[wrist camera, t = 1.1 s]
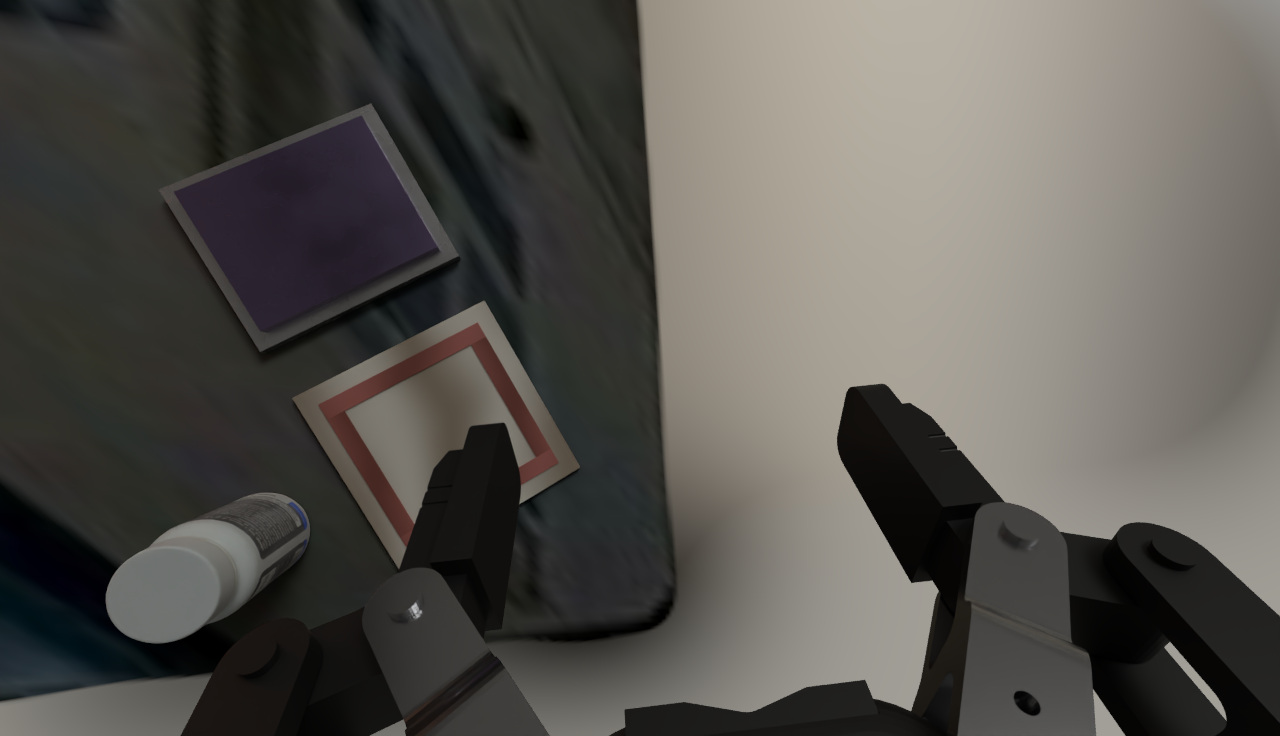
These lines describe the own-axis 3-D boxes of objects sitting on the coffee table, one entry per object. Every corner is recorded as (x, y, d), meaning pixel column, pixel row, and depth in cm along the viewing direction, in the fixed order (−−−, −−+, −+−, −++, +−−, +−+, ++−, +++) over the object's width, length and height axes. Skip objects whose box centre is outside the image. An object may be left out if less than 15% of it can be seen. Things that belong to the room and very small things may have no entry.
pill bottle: (215, 496, 28) (88, 544, 20) (310, 486, 29) (225, 528, 21) (220, 581, 28) (95, 664, 20) (315, 568, 29) (232, 642, 21)
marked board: (403, 572, 30) (401, 575, 30) (295, 398, 29) (291, 398, 29) (579, 466, 33) (580, 467, 32) (484, 301, 32) (484, 300, 31)
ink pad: (267, 352, 29) (253, 351, 28) (168, 194, 28) (149, 184, 27) (460, 258, 31) (457, 252, 30) (375, 110, 30) (367, 97, 29)
